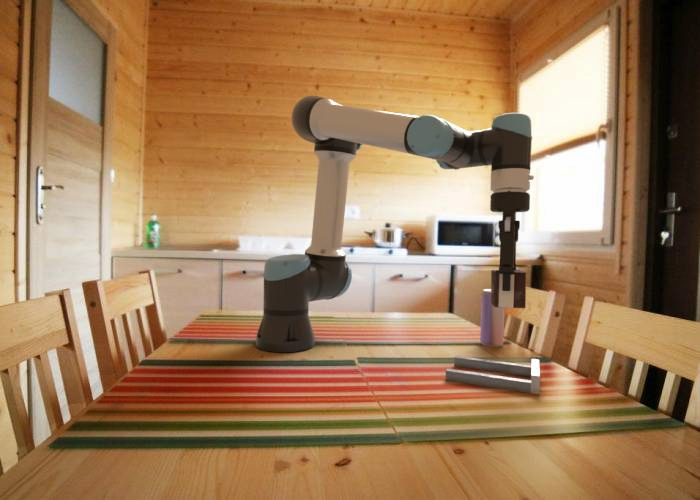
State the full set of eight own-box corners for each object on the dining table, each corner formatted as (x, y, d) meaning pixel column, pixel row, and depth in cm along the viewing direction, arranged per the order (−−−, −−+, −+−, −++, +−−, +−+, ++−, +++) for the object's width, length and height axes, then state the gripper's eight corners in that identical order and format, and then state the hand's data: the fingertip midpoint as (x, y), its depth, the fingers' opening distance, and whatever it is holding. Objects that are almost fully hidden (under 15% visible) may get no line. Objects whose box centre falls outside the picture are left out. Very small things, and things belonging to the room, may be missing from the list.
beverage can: (479, 345, 115) (481, 290, 114) (481, 340, 120) (482, 288, 120) (502, 348, 112) (504, 292, 112) (503, 343, 118) (505, 289, 117)
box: (525, 309, 84) (526, 272, 83) (493, 307, 85) (494, 271, 85) (520, 304, 90) (521, 269, 89) (490, 303, 91) (491, 269, 91)
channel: (445, 380, 86) (445, 363, 86) (455, 364, 98) (455, 349, 97) (539, 394, 80) (540, 376, 79) (538, 375, 91) (539, 359, 90)
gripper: (529, 186, 76) (526, 313, 77) (530, 196, 94) (527, 299, 95) (485, 187, 79) (482, 310, 80) (494, 197, 97) (492, 297, 98)
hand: (507, 304), depth 87 cm, fingers closed on box, 7 cm apart
